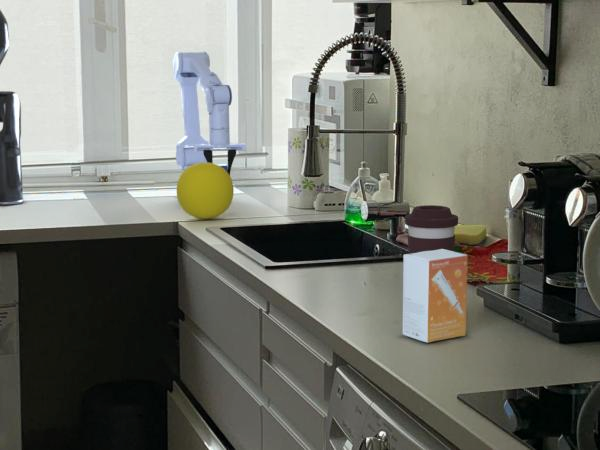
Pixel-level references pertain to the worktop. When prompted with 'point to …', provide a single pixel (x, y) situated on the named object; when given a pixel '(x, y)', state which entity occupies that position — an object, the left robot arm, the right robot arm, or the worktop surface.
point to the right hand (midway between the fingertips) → (220, 176)
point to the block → (224, 166)
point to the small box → (434, 295)
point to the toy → (205, 190)
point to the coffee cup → (431, 228)
